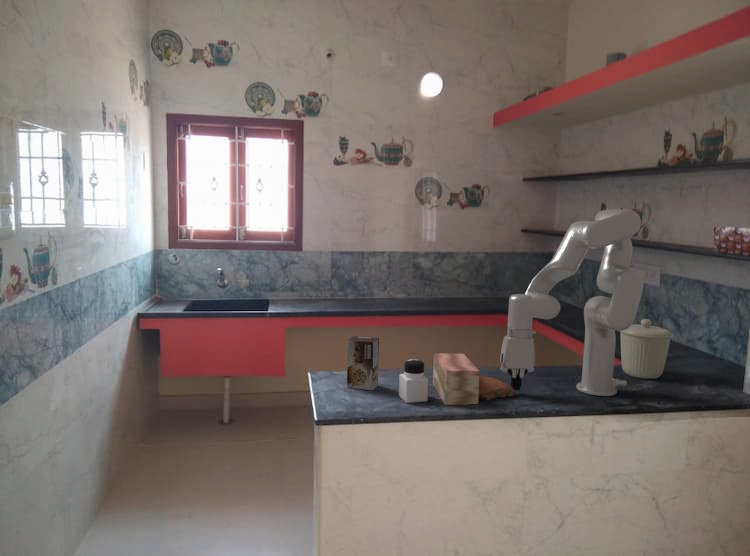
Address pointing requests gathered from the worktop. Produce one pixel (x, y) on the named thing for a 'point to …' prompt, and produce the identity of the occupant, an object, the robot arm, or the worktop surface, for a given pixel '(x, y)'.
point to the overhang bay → (455, 379)
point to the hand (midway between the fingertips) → (515, 388)
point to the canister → (644, 350)
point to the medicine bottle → (413, 382)
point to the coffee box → (362, 362)
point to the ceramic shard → (493, 388)
